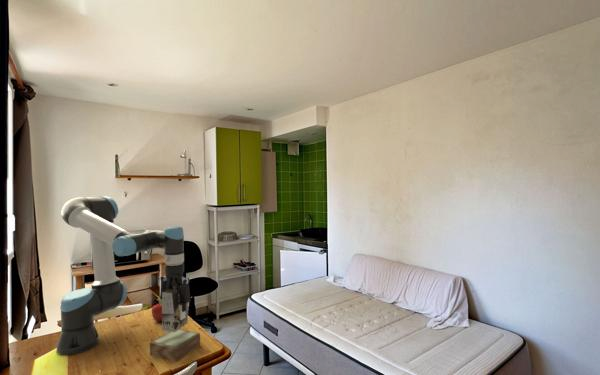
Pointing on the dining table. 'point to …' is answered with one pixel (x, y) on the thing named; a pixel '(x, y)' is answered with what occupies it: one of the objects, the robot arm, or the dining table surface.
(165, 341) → the brown and green tray
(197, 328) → the dining table surface
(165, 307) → the coffee box
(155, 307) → the vegetable
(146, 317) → the dining table surface
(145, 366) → the dining table surface
